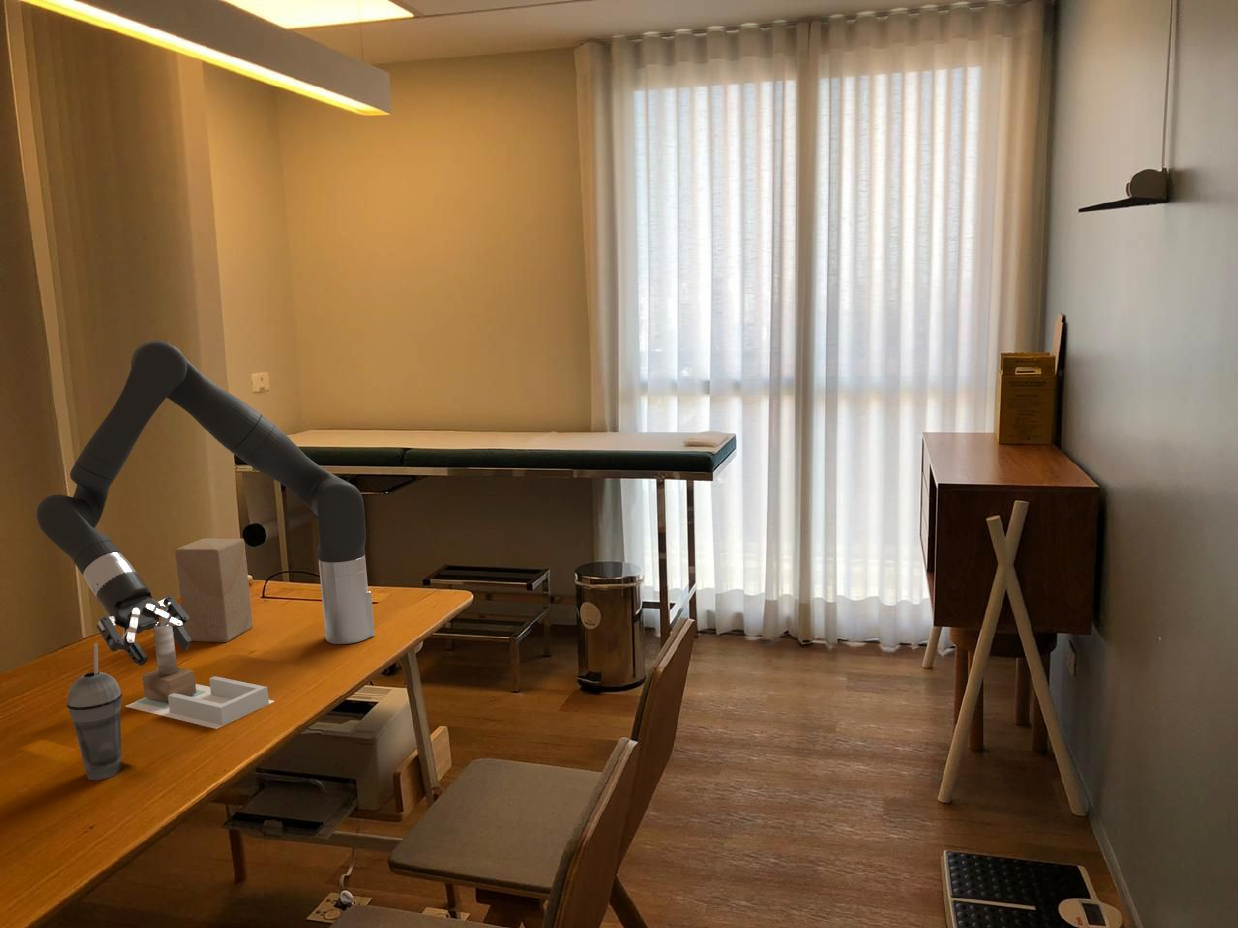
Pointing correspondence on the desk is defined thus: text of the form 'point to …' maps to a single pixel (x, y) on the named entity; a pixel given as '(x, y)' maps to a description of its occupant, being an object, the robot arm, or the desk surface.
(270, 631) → the desk surface
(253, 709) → the docking tray
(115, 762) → the beverage cup
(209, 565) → the wooden block
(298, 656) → the desk surface
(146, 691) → the peg with base
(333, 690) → the desk surface
